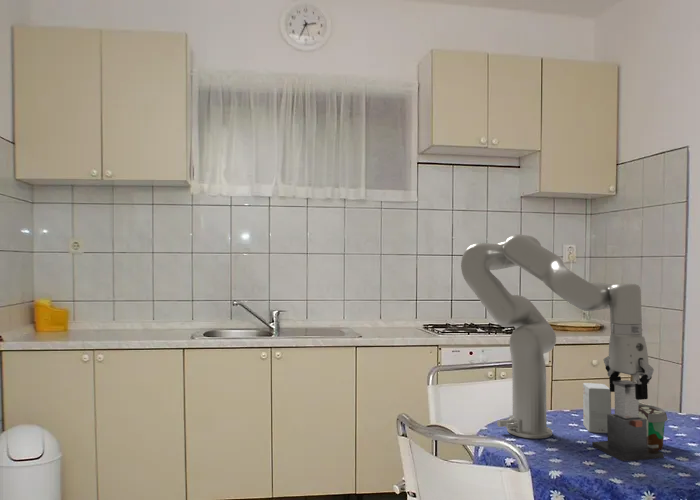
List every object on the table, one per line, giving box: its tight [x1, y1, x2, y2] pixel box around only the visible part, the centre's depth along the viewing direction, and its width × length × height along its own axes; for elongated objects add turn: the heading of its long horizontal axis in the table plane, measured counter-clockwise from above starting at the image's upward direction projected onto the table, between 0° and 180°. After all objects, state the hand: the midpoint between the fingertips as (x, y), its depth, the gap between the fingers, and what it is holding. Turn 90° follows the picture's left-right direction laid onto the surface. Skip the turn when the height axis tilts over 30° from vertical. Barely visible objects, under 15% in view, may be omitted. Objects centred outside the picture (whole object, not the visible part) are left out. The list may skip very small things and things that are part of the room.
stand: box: [591, 413, 665, 462], centre depth 148 cm, size 12×12×9 cm
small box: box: [582, 382, 612, 434], centre depth 169 cm, size 8×6×13 cm
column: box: [613, 379, 639, 420], centre depth 149 cm, size 5×5×17 cm
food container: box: [638, 403, 669, 451], centre depth 153 cm, size 12×6×10 cm, turn 168°
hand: (628, 395), depth 148 cm, fingers open, 9 cm apart
